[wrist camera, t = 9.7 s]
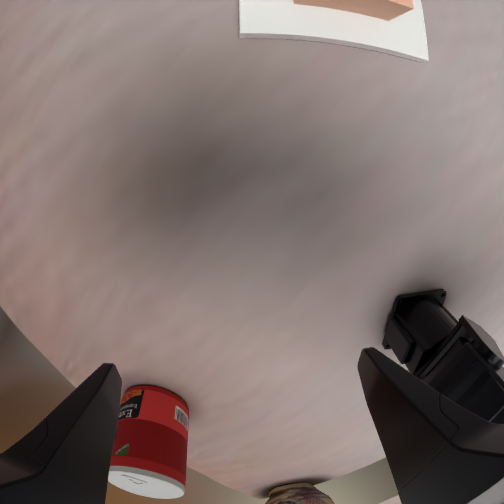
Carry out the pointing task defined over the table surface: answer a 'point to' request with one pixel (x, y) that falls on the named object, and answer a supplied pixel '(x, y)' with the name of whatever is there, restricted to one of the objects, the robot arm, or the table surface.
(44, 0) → the table surface
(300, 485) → the ceramic jug
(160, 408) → the canned food
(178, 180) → the table surface
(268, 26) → the baseplate
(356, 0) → the base block
